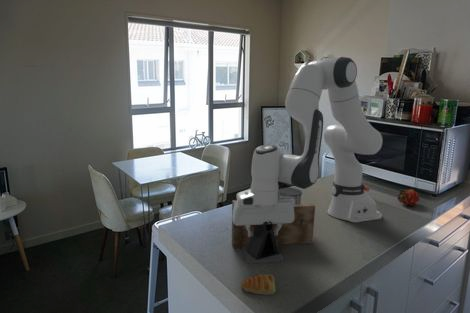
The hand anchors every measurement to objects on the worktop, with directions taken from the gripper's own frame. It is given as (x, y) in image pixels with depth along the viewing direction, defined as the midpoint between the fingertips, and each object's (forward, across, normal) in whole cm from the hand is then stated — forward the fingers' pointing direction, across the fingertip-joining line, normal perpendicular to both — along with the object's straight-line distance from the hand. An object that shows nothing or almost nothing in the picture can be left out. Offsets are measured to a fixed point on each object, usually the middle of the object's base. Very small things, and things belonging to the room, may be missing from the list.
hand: (262, 235), depth 112 cm
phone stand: (+6, 0, 0) cm, 6 cm away
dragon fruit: (+7, -80, -38) cm, 89 cm away
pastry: (+7, +5, +19) cm, 21 cm away
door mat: (+7, 0, 0) cm, 7 cm away
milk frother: (+7, -12, -18) cm, 23 cm away
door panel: (+7, -5, -6) cm, 11 cm away
